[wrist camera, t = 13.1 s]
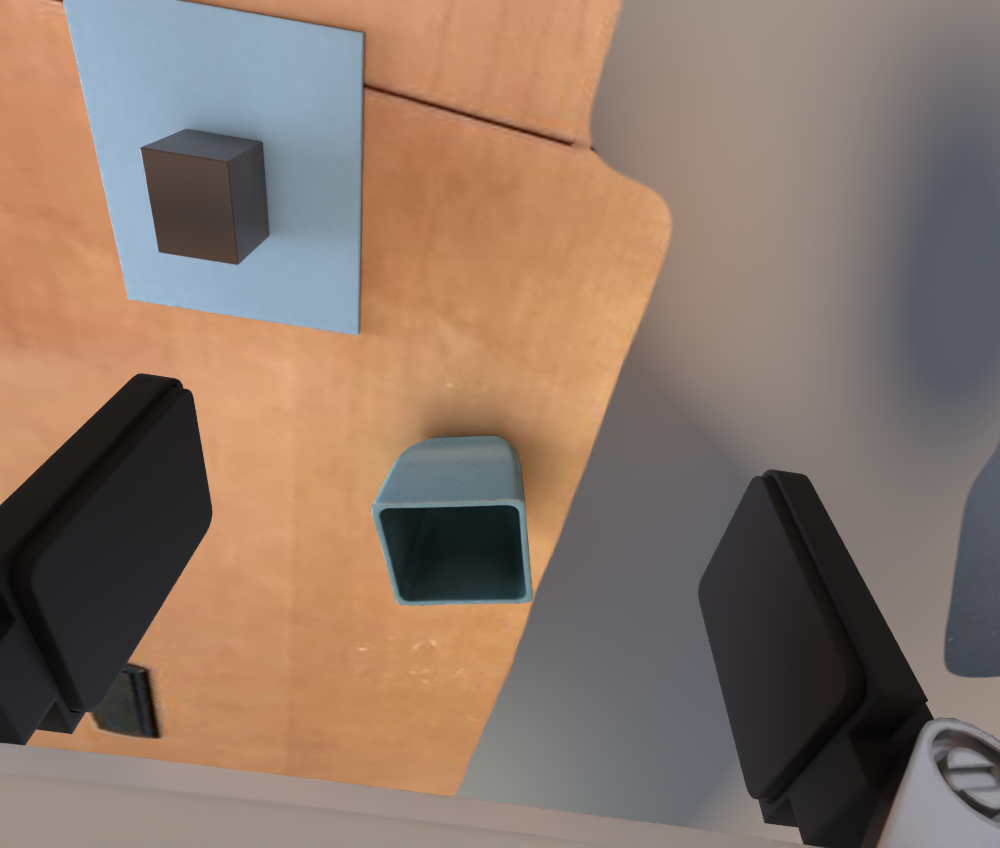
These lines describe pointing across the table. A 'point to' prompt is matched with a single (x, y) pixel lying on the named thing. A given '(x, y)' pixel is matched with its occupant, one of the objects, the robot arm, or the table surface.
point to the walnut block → (207, 195)
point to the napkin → (238, 113)
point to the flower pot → (455, 523)
